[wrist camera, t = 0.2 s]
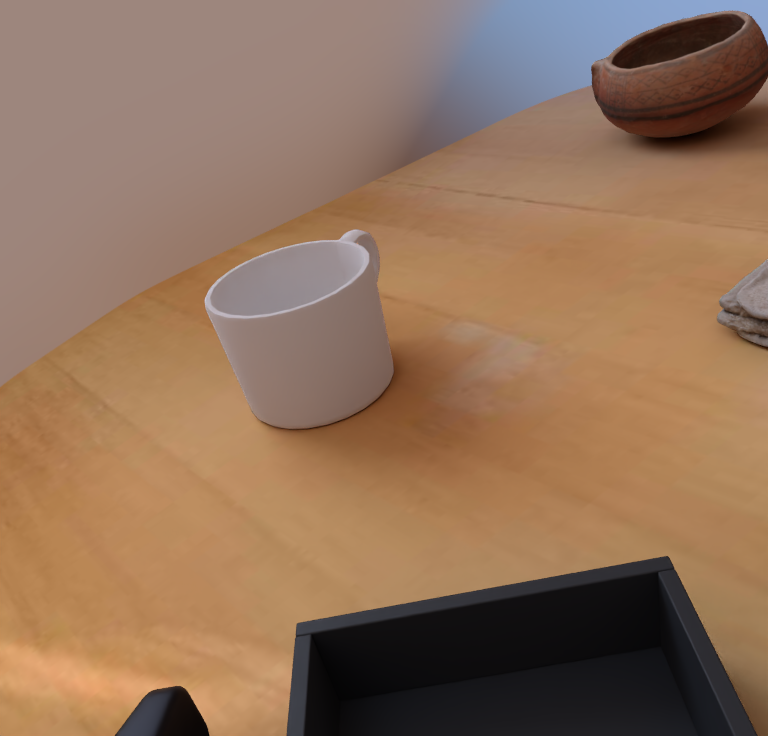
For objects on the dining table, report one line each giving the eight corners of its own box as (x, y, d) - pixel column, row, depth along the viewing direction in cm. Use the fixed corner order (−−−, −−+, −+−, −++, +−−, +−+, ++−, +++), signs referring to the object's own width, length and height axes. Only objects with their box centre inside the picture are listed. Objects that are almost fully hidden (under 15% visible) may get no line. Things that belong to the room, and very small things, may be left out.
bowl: (574, 140, 80) (565, 44, 75) (694, 99, 83) (693, 4, 78) (666, 168, 67) (663, 54, 62) (805, 118, 70) (813, 5, 65)
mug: (332, 450, 42) (292, 329, 38) (214, 415, 48) (168, 308, 44) (452, 333, 50) (430, 223, 46) (338, 316, 57) (309, 219, 52)
